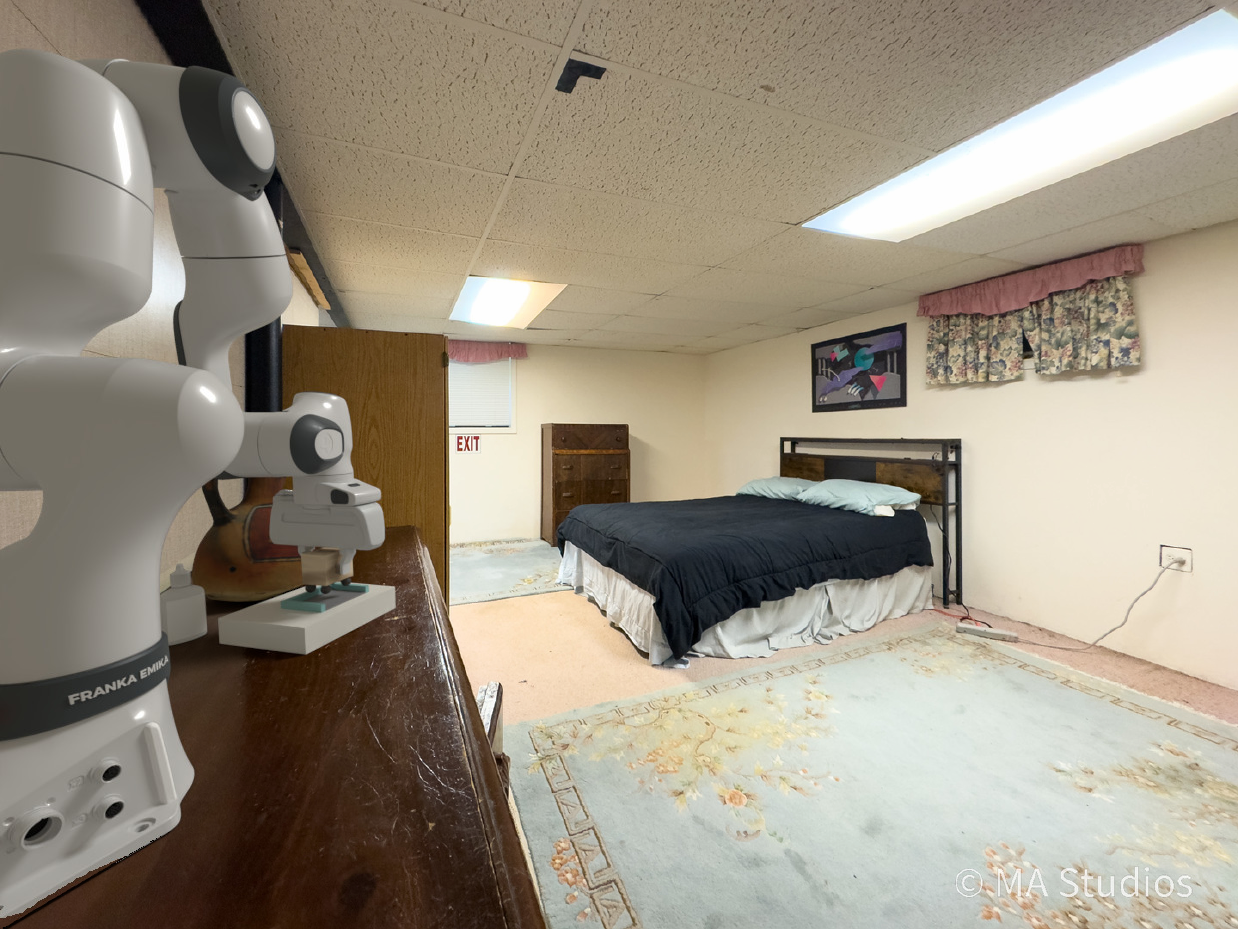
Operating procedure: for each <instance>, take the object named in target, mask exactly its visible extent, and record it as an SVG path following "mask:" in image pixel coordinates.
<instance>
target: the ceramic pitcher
mask: <svg viewBox="0 0 1238 929" xmlns="http://www.w3.org/2000/svg"><path fill="white" fill-rule="evenodd" d="M286 479H287V476H282V477H248V478H247V480H248V482H247V488H246V491H245V494H244V496H243V498H242V500H241V501H240V503H238V504H236V505H235V506H233V507H231V508H229V509H228V507H227V505H226V504H225V503H224V500H223V499H222V497H221V493H220V491H219V480H218V479H214V478H213V479H212V480H210V481H209V482H207V483H206V484H205V485H203V486H202V487H201V491H202V493H203V497H204V499H205V502H206V504H207V507H208V511H209V513H210V514H211V518H212V521H213V522H212V525H211V527H210V528H209V529H208V531H206V533H205V535H204V536H203V538H202V539H201V541H200V543H199V545H198V547H197V549H196V551H195V554H194V557H193V558H194V559H193V563H192V567H191V583H192V585H197V586H200V587H202V588H203V589H204V592H205V597H206V598H208V599H209V600H216V601H224V602H235V603H237V602H239V603H240V602H241V603H242V602H259V601H266V600H269V599H271V598H272V597H273V598H274V597H278V596H280V595H282V594H283V593H285V592H287V591H291V590H294V589H297V588H299V587H302V586H303V585H305V584H303V582H302V561H301V556H300V554H299V552H298V546H297V545H282V544H274V543H273V542H272V540H271V539H270V516H271V510H272V506H273V497H274V496H275V495H276V494H277V493H278V492H279V491H280V490H283V489H284V485H285V483H286V481H287V480H286ZM278 496H281V495H278ZM314 550H317V547H315V549H313V551H314Z"/></svg>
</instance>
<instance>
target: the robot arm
mask: <svg viewBox="0 0 1238 929" xmlns="http://www.w3.org/2000/svg"><path fill="white" fill-rule="evenodd" d="M277 158H278V157H277V145H276V138H275V135H274V131H273V128H272V124H271V123H270V119H269V117H268V116H267V113H266V111H265V109H264V107H263V105H262V104H261V102H260V101H259V99H258V98H257V97H256V96H255V94H254V93H253V92H252V91H251V90H250V89H249V88H248V87H247V86H246V85H245V84H244V83H243V82H242V81H241V80H240V79H239V78H237V77H235V76H233V75H231V74H229V73H226V72H224V71H223V72H222V71H220V70H216V69H211V68H210V67H209V68H208V67H203V66H199V65H191V66H188V67H182V66H176V65H169V64H162V63H155V62H148V61H147V62H146V61H134V60H133V61H132V60H128V59H125V58H86V59H74V60H73V59H71V58H68V57H67V56H64V55H60V54H57V53H54V52H50V51H46V50H40V49H33V48H15V49H7V50H5V51H3V52H0V492H29V491H31V492H34V491H35V492H36V491H38V492H39V491H40V492H41V491H42V504H41V510H40V515H39V517H38V519H37V521H36V523H35V526H34V527H33V528H32V529H31V531H30V533H29V534H28V535H27V536H26V537H24V538H22V539H19V540H17V541H15V542H13V543H11V544H8V545H7V546H4V547H2V548H1V549H0V909H1V910H0V918H6V917H7V916H12V915H15V914H19V913H23V912H24V911H25V910H26V909H27V908H31V907H32V906H34V905H35V904H36V903H37V902H38V901H40V900H42V899H44V898H46V897H47V896H48V895H51V894H53V893H55V892H56V891H57V890H58V889H61V888H62V887H64V886H66V885H67V884H68V883H71V882H73V881H74V880H75V879H76V878H79V877H82V876H84V875H86V874H87V873H88V872H89V871H93V870H95V869H98V868H99V867H102V866H104V865H107V864H109V863H110V862H113V861H115V860H117V859H120V858H123V857H124V856H127V857H129V856H130V855H131V854H130V853H132V852H133V853H135V852H137V851H139V850H140V849H142V848H144V847H145V846H147V845H149V844H151V842H150V841H152V840H154V841H155V840H157V839H160V838H161V837H163V836H164V835H166V834H167V833H168V832H170V831H172V830H173V829H174V828H176V827H177V826H178V824H179V823H180V821H181V817H182V812H181V811H182V810H181V803H182V800H183V799H184V798H185V796H186V795H187V792H188V791H189V789H190V788H191V786H192V784H193V782H194V778H195V769H194V767H193V765H192V763H191V761H190V760H189V758H188V756H187V753H186V752H185V750H184V746H183V745H182V742H181V739H180V736H179V734H178V729H177V726H176V723H175V718H174V715H173V711H172V706H171V700H170V694H169V690H168V684H169V679H170V675H171V671H172V670H171V669H172V668H171V656H170V655H171V654H170V646H169V645H168V636H167V634H166V633H165V632H164V631H161V616H160V594H161V562H162V553H163V549H164V546H165V542H166V539H167V536H168V534H169V531H170V529H171V526H172V524H173V523H174V521H175V519H176V517H177V516H178V514H179V512H180V511H181V509H182V508H183V507H184V505H186V504H187V502H188V501H189V500H190V498H191V497H193V495H194V494H195V493H197V491H199V490H200V489H202V486H203V485H205V484H206V483H207V482H209V481H210V480H212V479H213V478H214V479H218V481H227V480H237V479H238V480H239V479H248V477H282V476H286V477H292V489H286V488H283V490H280V491H279V492H278V493H277V494H276V495H275V496H274V497H273V506H272V510H271V516H270V539H271V540H272V542H273V543H274V544H282V545H297V546H298V552H299V554H300V556H301V554H303V553H307V552H310V551H313V549H315V547H316V548H324V547H326V548H339V551H340V555H343V556H342V558H341V561H340V563H337V564H335V569H336V570H335V573H336V574H341V575H345V574H348V573H349V572H350V562H351V561H352V559H354V557H355V555H356V554H357V550H358V551H371V550H374V549H377V548H380V547H381V546H382V545H383V543H384V541H385V539H386V533H385V532H386V527H385V518H384V512H383V508H382V506H381V505H380V504H379V503H378V502H377V501H380V500H381V499H382V492H381V491H382V490H381V489H380V488H378V487H376V486H375V485H374V486H373V485H371V484H369V483H366V482H364V481H362V480H359V479H357V478H354V477H355V476H354V467H353V466H352V460H351V454H352V451H353V432H352V422H351V416H350V411H349V407H348V403H347V401H346V399H344V398H343V397H341V396H339V395H337V394H335V393H330V392H323V391H314V390H313V391H309V390H308V391H307V390H306V391H302V392H297V393H296V394H294V396H293V400H292V404H291V406H289V407H288V408H286V409H282V411H275V412H273V411H272V412H263V411H262V412H258V411H257V412H255V411H254V412H252V411H251V412H247V411H243V410H242V407H241V404H240V403H239V400H238V399H237V397H236V396H235V394H234V392H233V385H232V377H231V370H230V362H229V351H230V348H231V346H232V345H233V343H234V342H235V341H236V340H237V339H239V338H240V337H242V336H244V335H246V334H248V333H250V332H252V331H255V330H258V329H260V328H262V327H265V326H266V325H267V326H268V325H269V324H271V323H273V322H274V321H276V320H277V319H278V318H279V317H281V316H282V315H283V314H284V312H285V311H286V310H287V308H288V307H289V306H290V303H291V301H292V298H293V294H294V293H293V292H294V289H293V288H294V284H293V278H292V272H291V267H290V264H289V261H288V257H287V255H286V254H287V253H286V250H285V246H284V242H283V239H282V235H281V232H280V228H279V226H278V223H277V220H276V217H275V215H274V211H273V209H272V207H271V205H270V203H269V200H268V198H267V195H266V193H265V191H264V189H265V187H266V186H267V185H268V183H269V182H270V181H271V178H272V177H273V174H274V171H275V169H276V163H277ZM154 188H155V189H164V190H163V193H164V195H165V196H166V197H167V204H168V210H169V215H170V220H171V225H172V230H173V233H174V237H175V241H176V244H177V249H178V251H179V254H180V257H181V260H182V264H183V270H184V277H185V278H184V279H185V283H184V284H185V288H184V295H183V297H182V299H181V300H180V301H178V302H177V304H176V305H175V307H174V310H173V316H172V328H173V337H174V338H173V339H174V344H175V350H176V357H177V363H178V364H177V363H173V362H167V361H161V360H156V359H150V358H144V357H143V358H142V357H114V356H113V357H112V356H111V357H109V356H81V355H82V353H83V351H84V350H85V348H86V347H87V345H88V344H89V343H90V341H92V340H93V338H95V337H96V336H97V335H99V333H101V332H102V331H103V330H104V329H107V328H109V327H110V326H112V325H114V324H116V323H119V322H121V321H124V320H127V319H128V318H130V317H133V316H134V315H136V314H137V313H139V312H140V311H141V310H142V309H143V308H144V307H145V305H146V304H147V303H148V301H149V299H150V297H151V294H152V290H153V271H154V270H153V267H154V237H155V236H154V232H155V231H154V230H155V229H154V228H155V192H154V191H155V190H154ZM278 495H281V496H278ZM160 836H161V837H160ZM156 838H157V839H156ZM152 842H153V841H152ZM143 846H144V847H143ZM141 847H142V848H141ZM139 848H140V849H139ZM138 849H139V850H138ZM136 850H137V851H136ZM134 851H135V852H134ZM133 853H132V854H133ZM129 854H130V855H129ZM123 859H124V858H123Z"/></svg>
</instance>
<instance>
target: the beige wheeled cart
mask: <svg viewBox="0 0 1238 929" xmlns="http://www.w3.org/2000/svg"><path fill="white" fill-rule="evenodd" d="M342 556H343V555H340V551H339V548H326V547H319V548H318V549H317V548H316V550H314V551H310V552H307V553H303V554H301V561H302V582H303V584H304V585H305V586H306V587H305V586H304V587H305V590H306V591H307V592H309V593H312V592H314V591H315V590H316V585H319V586H322V587H321V589H320V591H321V593H323V594H328V593H330V592H331V589H332V588H331V586H330V585H332V584H334V583H336V582H341V584H342V585H343V586H348V585H349V584H350V583H352V578H351V577H354V564H353V561H354V560H353V559H354V558H353V559H352V561H351V562H350V572H349V573H348V574H345V575H341V574H336V573H335V570H336V569H335V564H337V563H340V561H341V558H342Z"/></svg>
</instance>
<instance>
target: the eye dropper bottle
mask: <svg viewBox="0 0 1238 929" xmlns="http://www.w3.org/2000/svg"><path fill="white" fill-rule="evenodd" d="M169 581H170V588H168V589H167V590H164V591H163V592H162V593H160V616H161V631H164V632H165V633H166V634H167V636H168V645H169V647H171V646H175V645H179V644H184V643H188V642H190V641H194V640H196V639H198V638H201V637H204V636H205V635H206V634H207V633H208V623H207V622H208V621H207V605H206V604H207V603H206V596H205V592H204V589H203V588H202V587H200V586H197V585H193V584H192V574H191V571H190V570H187V569H185V567H184V564H183V563H176V567H175V570H174V571H173V572H171V573H170V574H169Z"/></svg>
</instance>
